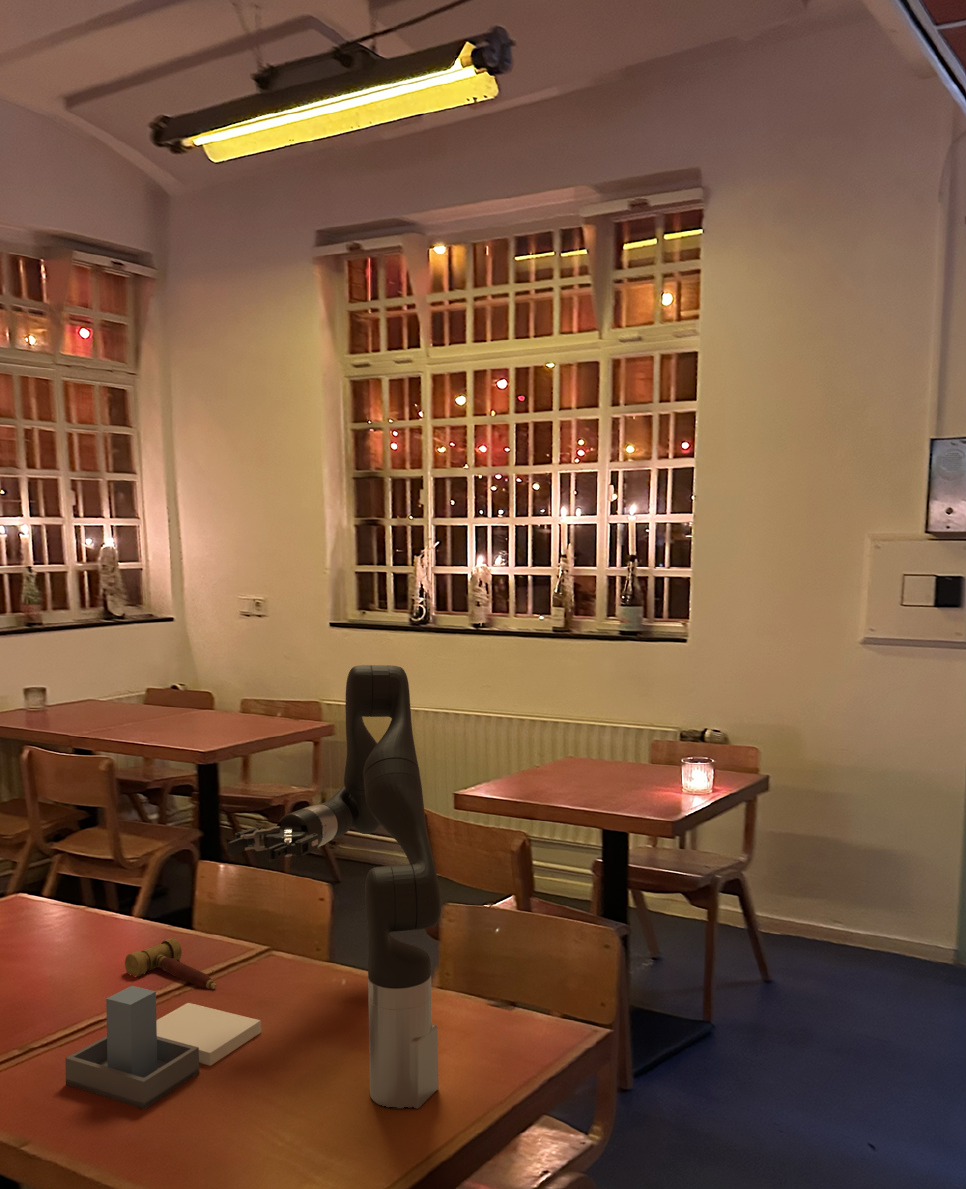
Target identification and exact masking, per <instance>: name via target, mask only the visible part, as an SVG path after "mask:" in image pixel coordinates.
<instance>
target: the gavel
mask: <svg viewBox="0 0 966 1189" xmlns="http://www.w3.org/2000/svg"><path fill="white" fill-rule="evenodd" d="M182 950H183V949H182V946H181V943H180V942H179V940H177V939H176V938H174V937H171V938H168V939H166V940H163V941H161V943H159V944H157V945H153V946H151V947H149V948H147V949H143V950H142V951H140V950H136V951H134V952H131V953H129V954H127V955H126V957H125V958H124V959H125V960H124V967H125V971H126V973H127V975H128V974H131V975H133V976H136V977H135V978H138V977H139V976H142V974H143V975H145V974H146V972H148V971H149V972H150V971H151V969H152V970H155V969H156V967H157V968H161V969H162V970H163V971H165V972H166V973H168V974H170V975H172V976H175V978H176V977H177V979H178V978H179V979H181V980H182V981H184V982H187V983H189V984H191V985H194V986H195V987H197V988H201V989H208V990H209V989H212V990H215V989H216V988H217V983H215V982H214V980H213V979H212V978H211V977H210V975H208V974H207V973H205V972H203V971H200V970H198V969H196V968H194V967H193V966H190V965H188V964H186V963H183V962H181V961H180V960H181V958H182V954H183V952H182ZM177 960H178V961H177ZM144 973H145V974H144ZM131 975H130V976H131ZM133 976H132V977H133ZM137 976H138V977H137Z"/></svg>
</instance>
